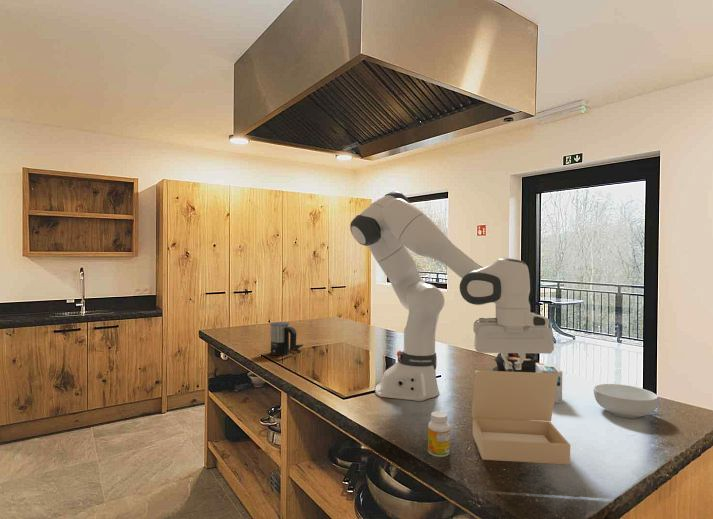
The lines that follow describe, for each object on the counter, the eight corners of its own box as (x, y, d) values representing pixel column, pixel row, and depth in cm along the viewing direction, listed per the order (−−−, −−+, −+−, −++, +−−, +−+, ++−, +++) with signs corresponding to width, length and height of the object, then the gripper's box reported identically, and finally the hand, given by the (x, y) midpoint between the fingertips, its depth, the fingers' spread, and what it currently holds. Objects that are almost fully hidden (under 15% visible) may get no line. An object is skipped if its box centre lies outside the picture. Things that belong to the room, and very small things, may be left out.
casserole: (506, 366, 189) (506, 347, 189) (550, 374, 177) (551, 354, 177) (481, 378, 171) (481, 357, 170) (529, 389, 158) (529, 366, 158)
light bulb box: (562, 404, 143) (563, 371, 143) (540, 402, 144) (541, 370, 144) (554, 393, 153) (555, 363, 153) (534, 392, 155) (534, 362, 154)
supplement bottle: (425, 448, 110) (425, 410, 109) (446, 447, 110) (446, 409, 110) (430, 458, 104) (431, 418, 104) (452, 457, 105) (453, 418, 104)
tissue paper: (489, 456, 104) (489, 450, 104) (481, 437, 115) (481, 431, 115) (558, 460, 103) (558, 454, 103) (543, 440, 114) (543, 435, 114)
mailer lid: (475, 371, 112) (470, 351, 121) (471, 417, 117) (466, 394, 126) (558, 374, 110) (546, 353, 119) (551, 421, 115) (540, 397, 124)
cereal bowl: (647, 408, 140) (648, 386, 140) (665, 427, 124) (666, 403, 124) (589, 401, 145) (589, 380, 145) (599, 419, 130) (599, 396, 130)
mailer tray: (482, 461, 103) (482, 440, 103) (472, 436, 117) (472, 417, 117) (569, 466, 101) (570, 444, 101) (549, 440, 115) (549, 421, 115)
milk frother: (266, 355, 205) (266, 324, 205) (279, 348, 221) (279, 319, 221) (295, 357, 203) (295, 325, 202) (305, 349, 218) (306, 320, 218)
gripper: (475, 319, 114) (476, 371, 114) (555, 319, 112) (556, 372, 112) (471, 316, 121) (472, 365, 121) (547, 316, 119) (548, 366, 119)
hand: (513, 369), depth 117 cm, fingers closed
